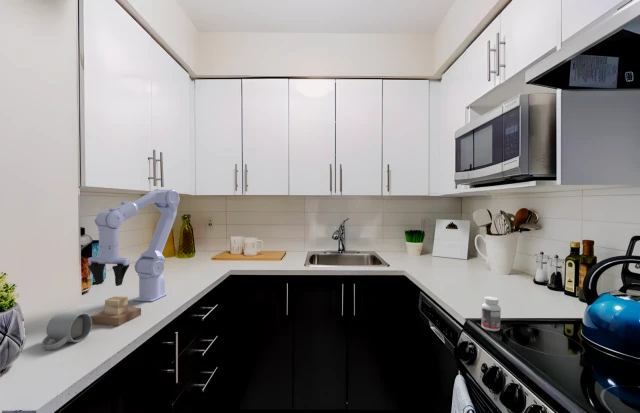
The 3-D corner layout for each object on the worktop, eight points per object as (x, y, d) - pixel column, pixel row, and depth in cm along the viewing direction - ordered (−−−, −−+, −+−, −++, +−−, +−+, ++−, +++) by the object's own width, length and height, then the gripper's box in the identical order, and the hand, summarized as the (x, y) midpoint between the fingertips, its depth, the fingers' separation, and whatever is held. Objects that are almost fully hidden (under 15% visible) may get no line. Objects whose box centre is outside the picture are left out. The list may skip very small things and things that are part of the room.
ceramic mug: (67, 333, 98) (66, 307, 98) (93, 335, 97) (92, 309, 97) (32, 350, 88) (31, 321, 87) (60, 352, 87) (60, 323, 86)
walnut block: (115, 314, 116) (115, 305, 116) (141, 316, 114) (141, 307, 114) (90, 325, 106) (90, 315, 106) (118, 327, 104) (118, 318, 104)
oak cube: (115, 309, 112) (115, 296, 112) (127, 310, 112) (127, 296, 111) (105, 314, 108) (104, 300, 107) (118, 314, 107) (118, 300, 107)
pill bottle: (477, 325, 110) (478, 295, 110) (493, 324, 110) (494, 295, 110) (487, 331, 104) (488, 300, 104) (503, 331, 105) (504, 300, 105)
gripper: (80, 246, 113) (80, 286, 114) (119, 248, 111) (119, 288, 112) (97, 243, 120) (97, 281, 121) (133, 245, 118) (133, 283, 119)
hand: (109, 284), depth 117 cm, fingers open, 7 cm apart
